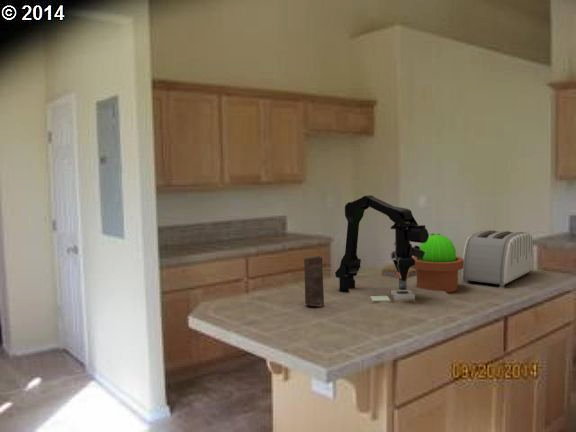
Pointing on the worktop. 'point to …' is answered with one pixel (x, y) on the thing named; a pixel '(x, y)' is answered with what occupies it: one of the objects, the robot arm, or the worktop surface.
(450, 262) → the potted cactus
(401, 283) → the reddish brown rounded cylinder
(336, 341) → the worktop surface
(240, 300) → the worktop surface
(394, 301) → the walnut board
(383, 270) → the flat patterned box
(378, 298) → the rubber pad
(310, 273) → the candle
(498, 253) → the toaster
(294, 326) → the worktop surface
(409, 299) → the block
